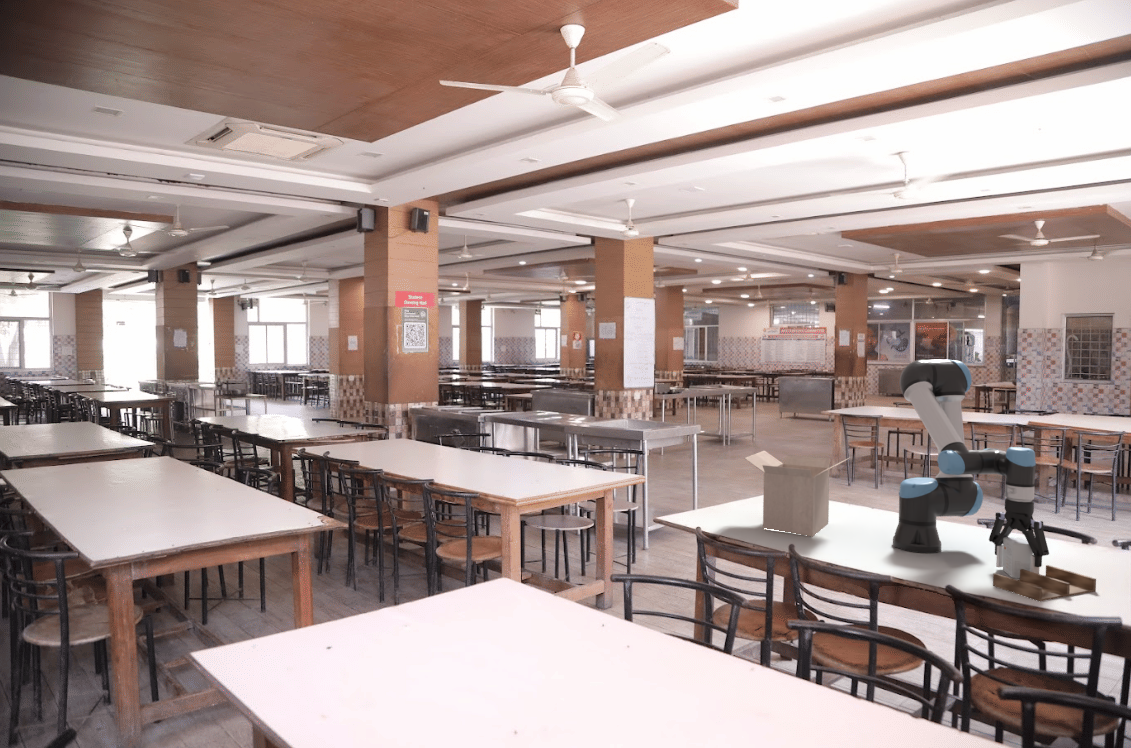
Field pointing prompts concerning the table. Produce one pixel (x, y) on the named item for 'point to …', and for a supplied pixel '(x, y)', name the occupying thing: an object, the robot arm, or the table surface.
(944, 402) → the robot arm
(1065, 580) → the rack
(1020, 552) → the small box
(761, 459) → the box
